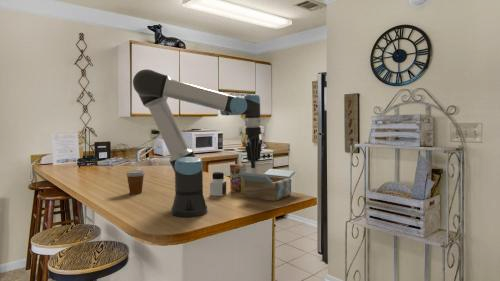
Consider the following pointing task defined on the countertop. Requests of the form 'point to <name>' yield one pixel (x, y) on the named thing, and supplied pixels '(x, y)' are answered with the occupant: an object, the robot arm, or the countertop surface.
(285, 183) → the carton
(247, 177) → the near flap
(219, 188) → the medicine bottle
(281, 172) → the far flap
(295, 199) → the countertop surface
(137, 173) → the disposable coffee cup
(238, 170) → the candy box
